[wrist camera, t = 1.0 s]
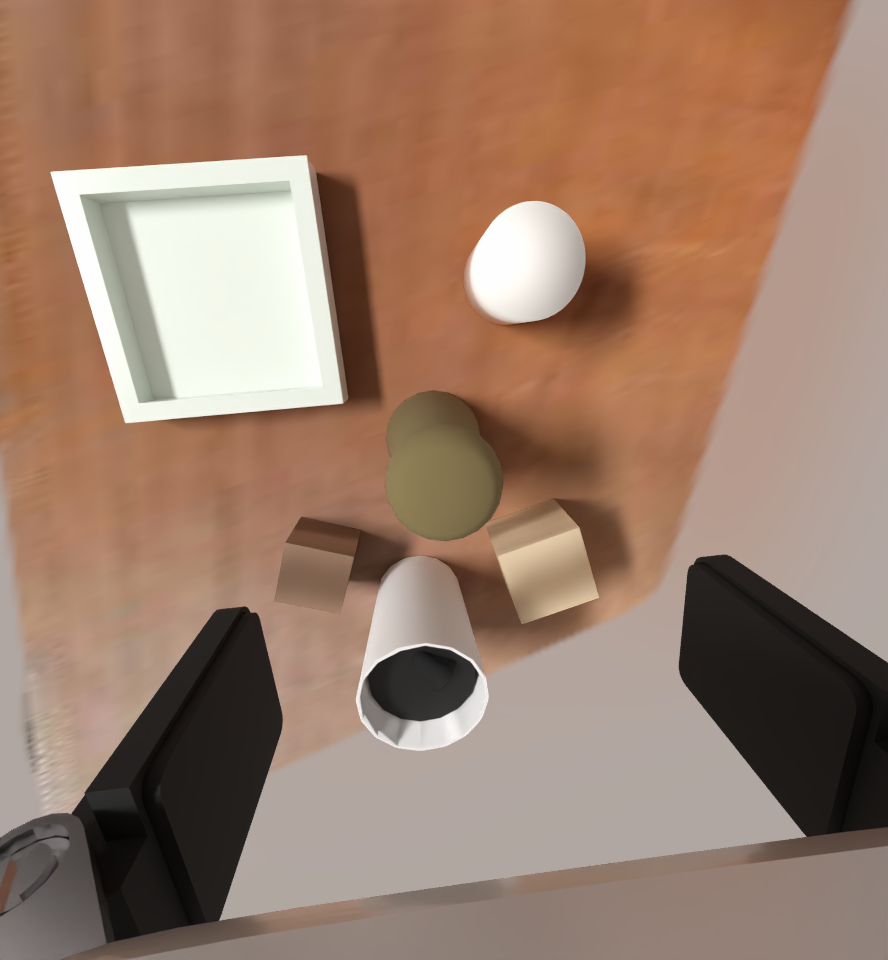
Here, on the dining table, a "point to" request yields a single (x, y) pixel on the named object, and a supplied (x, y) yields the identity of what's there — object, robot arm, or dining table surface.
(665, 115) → the dining table surface
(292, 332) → the tray
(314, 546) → the walnut block
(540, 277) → the white rounded cylinder
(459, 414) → the olive rounded tall piece
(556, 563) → the oak block
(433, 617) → the drinking glass
